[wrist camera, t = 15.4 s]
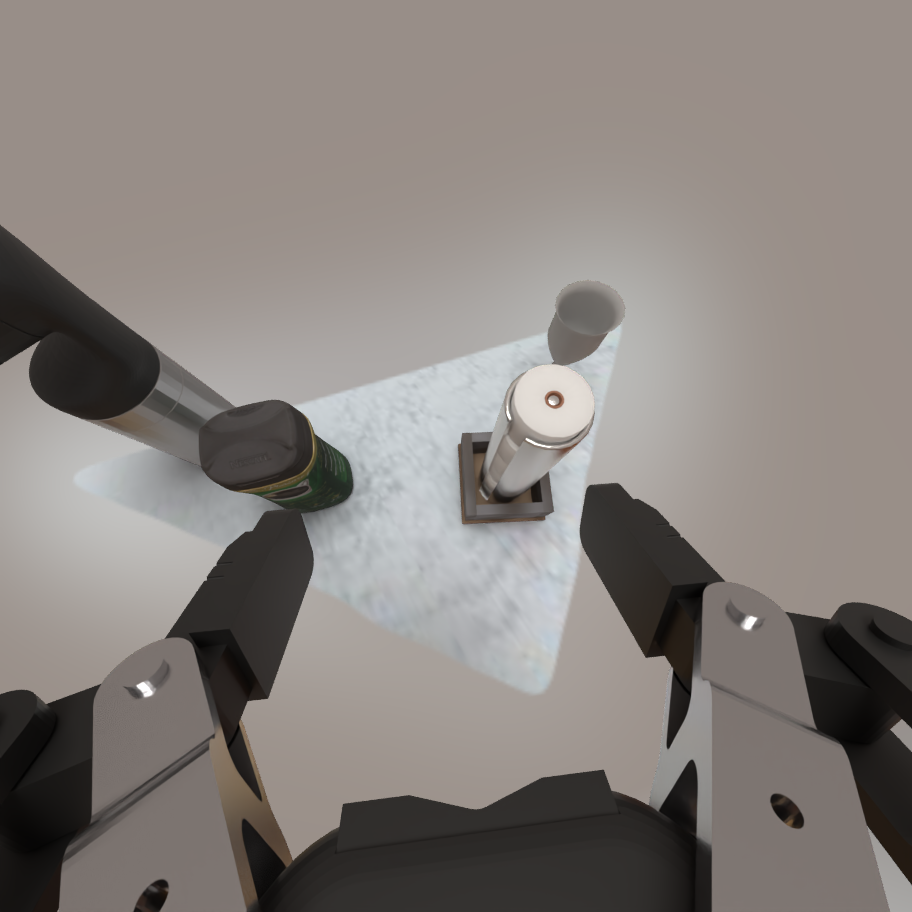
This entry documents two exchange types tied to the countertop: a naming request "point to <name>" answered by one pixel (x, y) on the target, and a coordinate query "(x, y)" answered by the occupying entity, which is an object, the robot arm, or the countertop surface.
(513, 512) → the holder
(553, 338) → the chalice
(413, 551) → the countertop surface
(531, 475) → the silver metal cylinder
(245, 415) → the coffee jar
